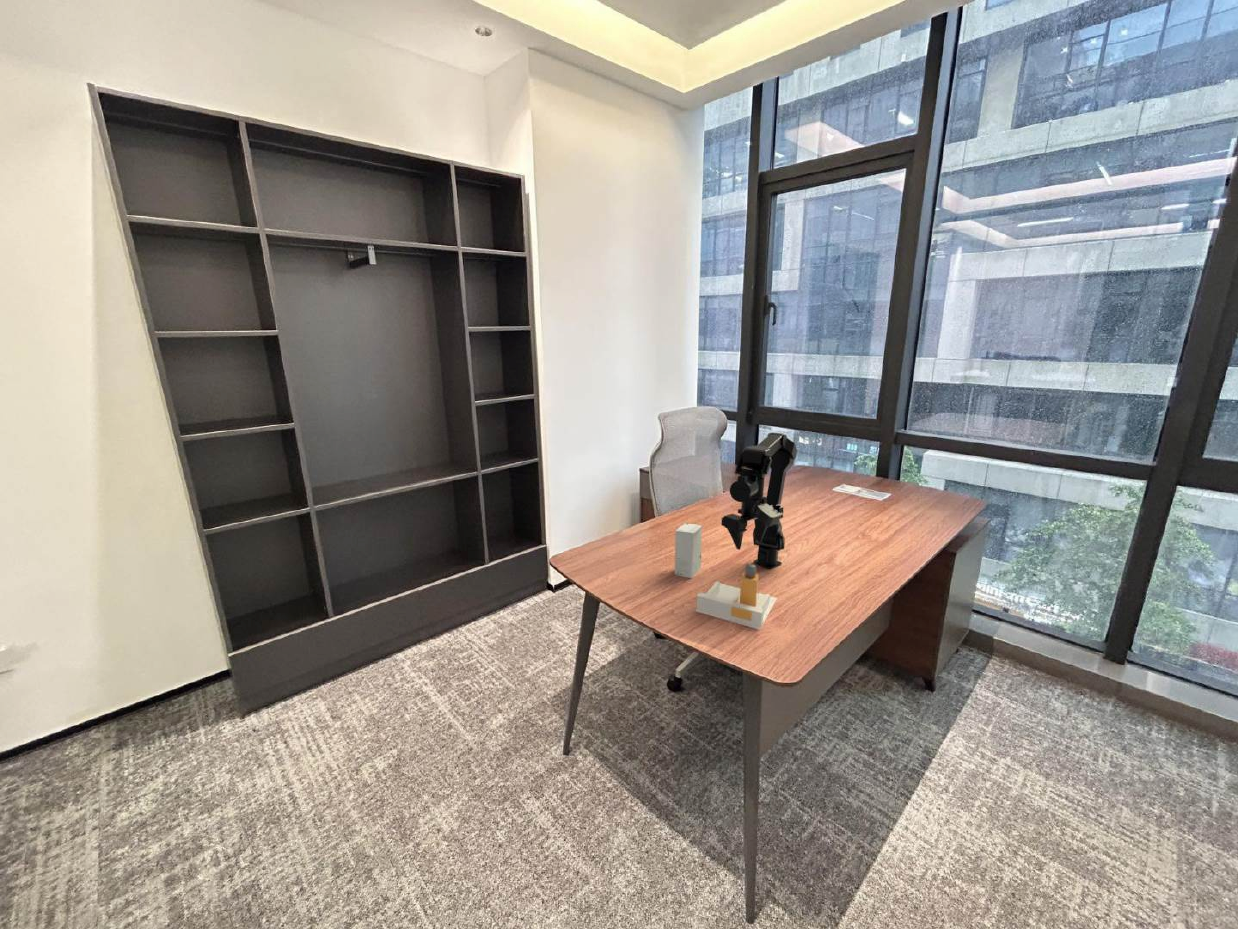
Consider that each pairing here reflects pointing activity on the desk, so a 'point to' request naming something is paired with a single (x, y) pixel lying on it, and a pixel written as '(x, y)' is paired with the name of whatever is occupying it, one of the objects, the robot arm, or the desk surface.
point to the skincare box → (688, 550)
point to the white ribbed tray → (734, 605)
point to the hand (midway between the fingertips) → (749, 545)
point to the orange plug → (749, 586)
